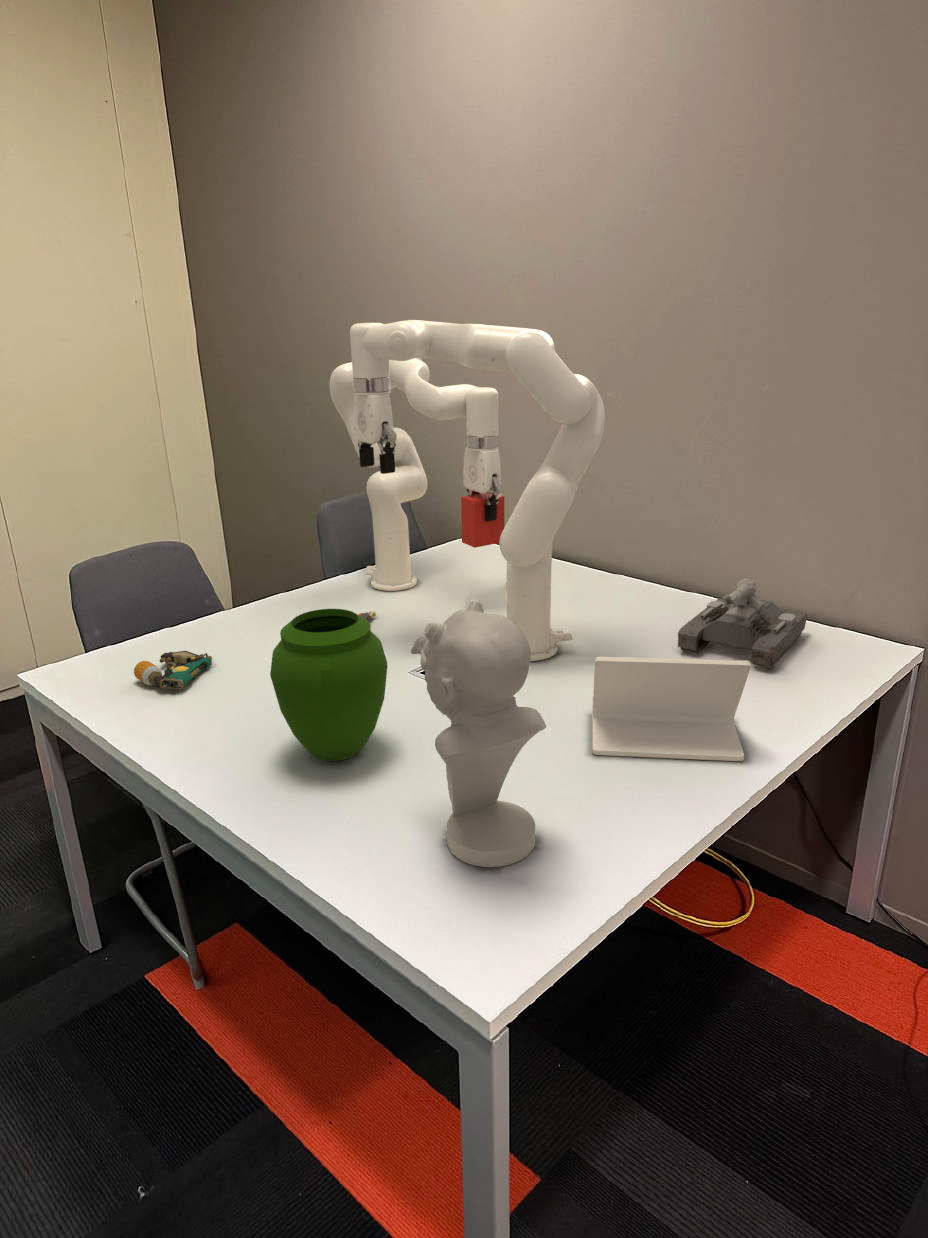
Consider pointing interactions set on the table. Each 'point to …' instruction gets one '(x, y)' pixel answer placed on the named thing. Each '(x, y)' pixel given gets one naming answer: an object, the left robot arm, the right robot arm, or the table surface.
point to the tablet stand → (667, 707)
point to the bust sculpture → (481, 729)
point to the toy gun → (367, 615)
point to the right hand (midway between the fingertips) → (377, 469)
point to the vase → (330, 681)
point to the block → (480, 521)
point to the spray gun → (172, 669)
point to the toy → (744, 626)
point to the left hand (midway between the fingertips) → (483, 516)
